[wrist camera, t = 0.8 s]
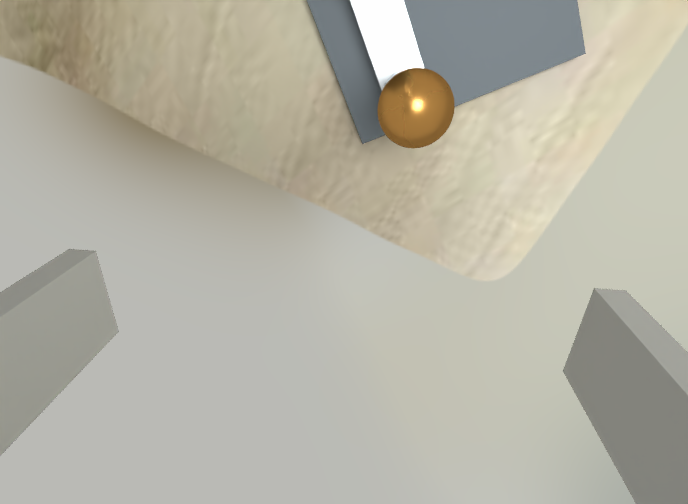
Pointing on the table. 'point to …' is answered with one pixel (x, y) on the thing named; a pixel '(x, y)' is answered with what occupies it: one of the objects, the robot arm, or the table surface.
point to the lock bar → (403, 76)
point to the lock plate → (453, 46)
